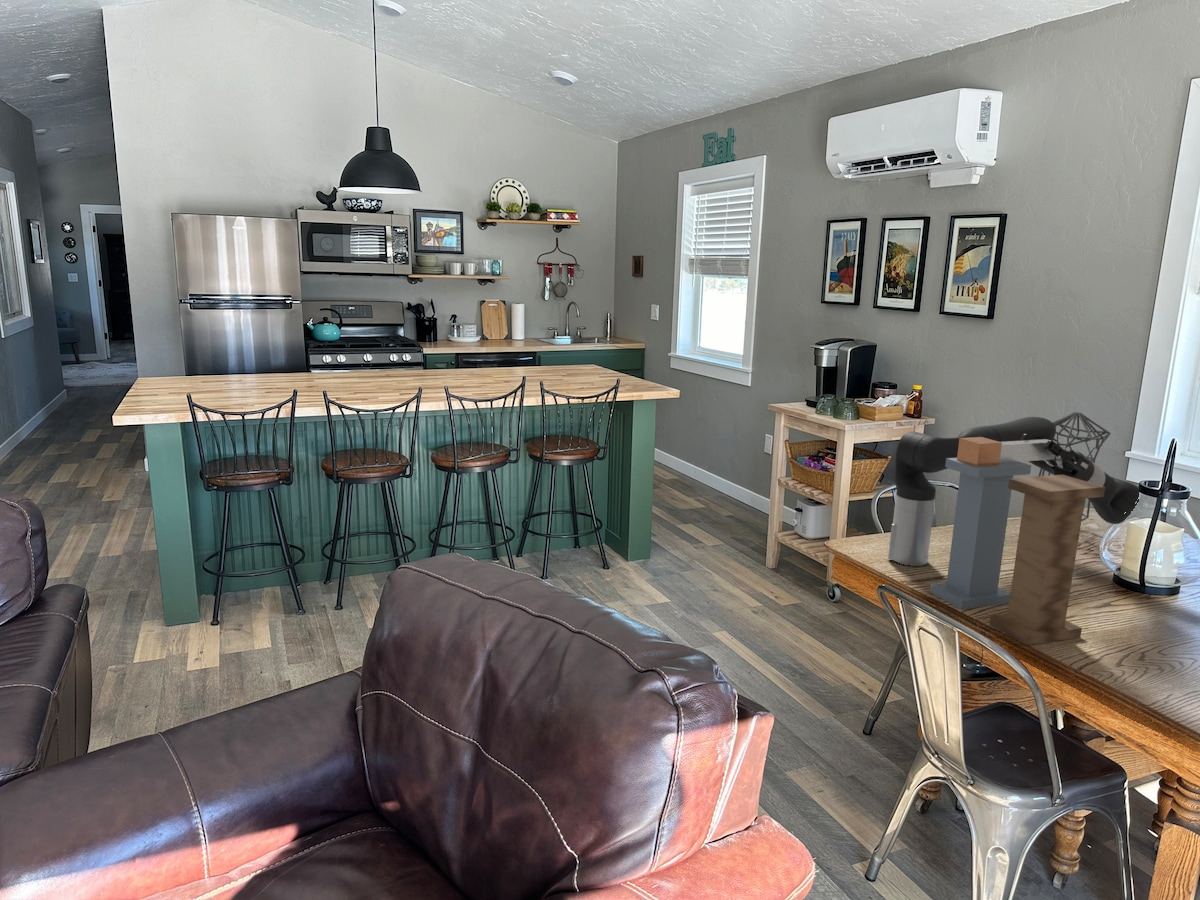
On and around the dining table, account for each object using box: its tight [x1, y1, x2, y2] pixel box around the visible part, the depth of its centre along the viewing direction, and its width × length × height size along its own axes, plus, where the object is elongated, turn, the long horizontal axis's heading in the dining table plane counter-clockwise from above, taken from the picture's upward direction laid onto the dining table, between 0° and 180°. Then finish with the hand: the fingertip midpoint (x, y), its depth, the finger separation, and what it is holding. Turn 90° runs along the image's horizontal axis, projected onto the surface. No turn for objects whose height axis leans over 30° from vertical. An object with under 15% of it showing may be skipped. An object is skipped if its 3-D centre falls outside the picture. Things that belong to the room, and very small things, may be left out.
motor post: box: [929, 458, 1032, 610], centre depth 182 cm, size 14×10×32 cm
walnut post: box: [988, 474, 1105, 646], centre depth 165 cm, size 14×10×32 cm
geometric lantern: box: [1038, 411, 1111, 522], centre depth 233 cm, size 16×16×35 cm
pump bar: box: [957, 437, 1057, 467], centre depth 180 cm, size 23×6×5 cm, turn 108°
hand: (1035, 440), depth 181 cm, fingers open, 6 cm apart
